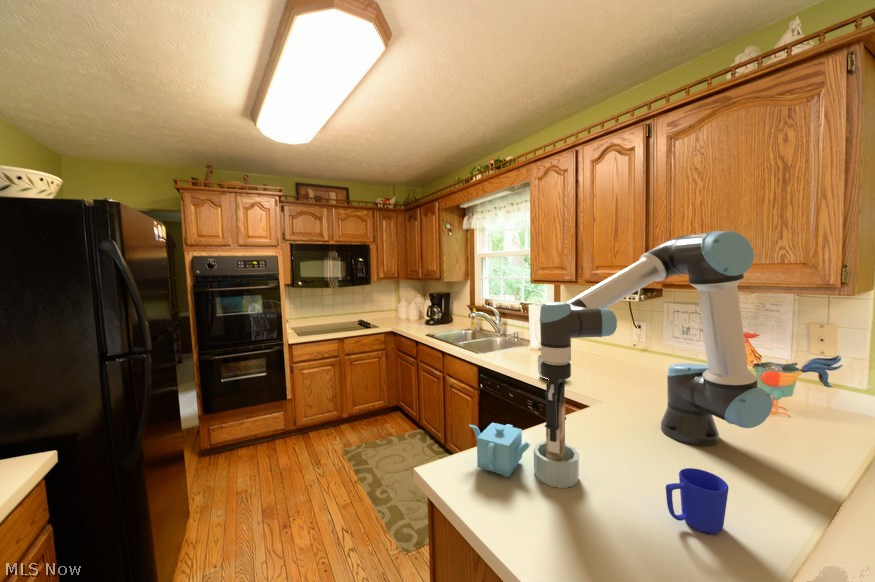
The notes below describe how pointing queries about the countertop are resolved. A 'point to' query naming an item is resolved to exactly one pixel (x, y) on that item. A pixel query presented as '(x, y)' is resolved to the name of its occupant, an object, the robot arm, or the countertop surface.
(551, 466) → the grey round bowl
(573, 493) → the countertop surface
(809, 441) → the countertop surface
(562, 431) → the wooden post
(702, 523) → the mug
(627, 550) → the countertop surface
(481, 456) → the teapot
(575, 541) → the countertop surface
